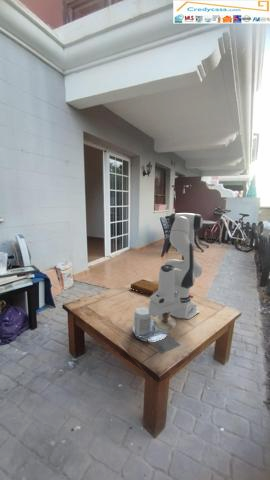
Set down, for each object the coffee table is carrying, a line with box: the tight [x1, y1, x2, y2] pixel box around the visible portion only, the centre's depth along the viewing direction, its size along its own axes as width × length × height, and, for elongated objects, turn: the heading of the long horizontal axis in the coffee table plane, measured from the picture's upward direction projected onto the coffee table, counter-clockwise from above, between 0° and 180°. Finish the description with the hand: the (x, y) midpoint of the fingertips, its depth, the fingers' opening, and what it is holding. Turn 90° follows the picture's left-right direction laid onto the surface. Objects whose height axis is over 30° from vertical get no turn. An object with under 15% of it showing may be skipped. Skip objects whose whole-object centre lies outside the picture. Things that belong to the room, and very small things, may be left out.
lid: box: [153, 312, 177, 331], centre depth 119 cm, size 12×12×6 cm
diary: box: [130, 279, 159, 297], centre depth 196 cm, size 23×19×6 cm
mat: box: [147, 334, 181, 354], centre depth 121 cm, size 14×14×1 cm
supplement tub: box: [133, 307, 152, 338], centre depth 128 cm, size 10×10×15 cm
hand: (164, 318), depth 119 cm, fingers closed on lid, 3 cm apart
